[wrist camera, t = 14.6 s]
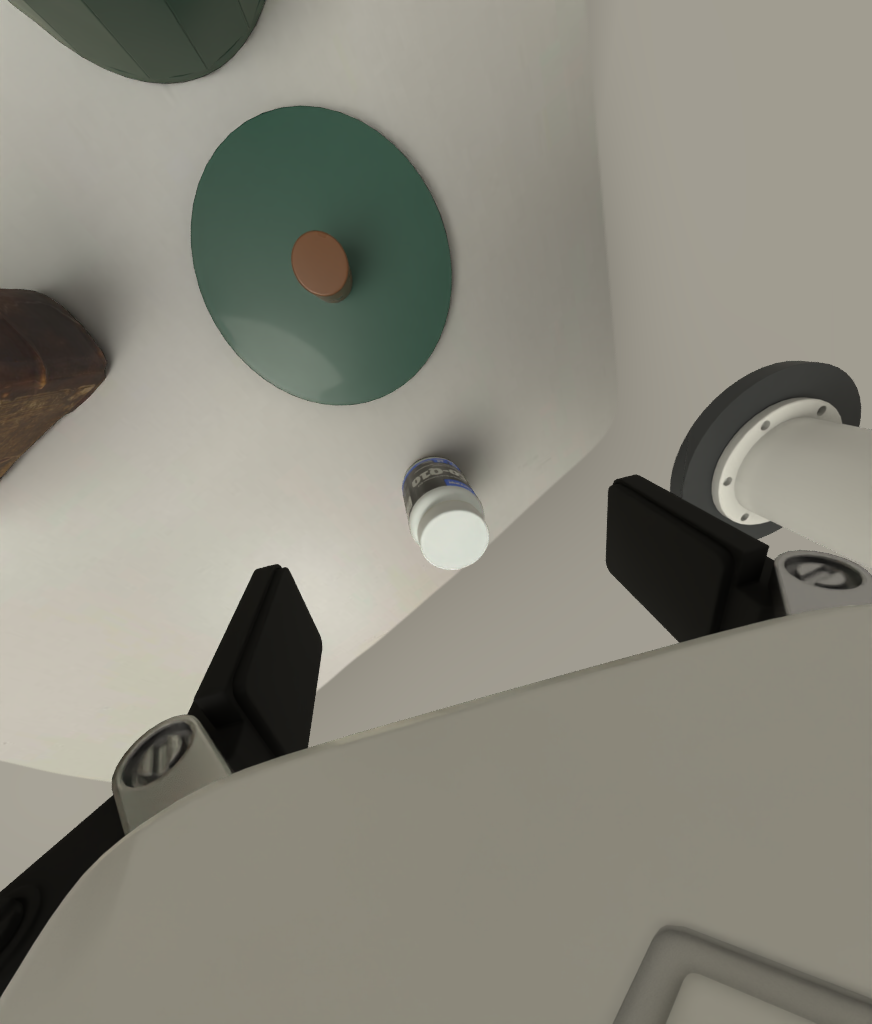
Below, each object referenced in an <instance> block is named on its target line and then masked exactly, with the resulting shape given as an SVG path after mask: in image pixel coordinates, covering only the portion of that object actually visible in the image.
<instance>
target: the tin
mask: <svg viewBox="0 0 872 1024" xmlns="http://www.w3.org/2000/svg"><path fill="white" fill-rule="evenodd" d="M8 1H9V2H10V3H11V4H12V5H14V6H15V7H16V8H17V9H19V10H20V11H21V12H23V13H24V14H25V15H27V16H28V17H29V18H31V19H32V20H33V21H35V22H36V23H37V24H39V25H40V26H41V27H42V28H43V29H45V30H46V31H47V32H48V33H49V34H51V35H52V36H53V37H54V38H55V39H57V40H58V41H59V42H61V43H62V44H64V45H65V46H67V47H68V48H70V49H71V50H73V51H74V52H76V53H77V54H78V55H80V56H81V57H83V58H85V59H87V60H89V61H91V62H93V63H95V64H96V65H98V66H100V67H102V68H104V69H107V70H109V71H112V72H114V73H117V74H119V75H122V76H125V77H128V78H132V79H137V80H141V81H145V82H155V83H176V82H186V81H189V80H193V79H196V78H199V77H203V76H204V75H206V74H208V73H210V72H212V71H214V70H216V69H218V68H219V67H220V66H222V65H223V64H224V63H225V62H227V61H228V60H229V59H230V58H232V57H233V56H234V54H235V53H236V52H237V51H238V50H239V49H240V47H241V46H242V45H243V44H244V43H245V41H246V40H247V38H248V36H249V35H250V33H251V31H252V30H253V28H254V26H255V25H256V22H257V20H258V17H259V15H260V13H261V10H262V8H263V5H264V2H265V0H8Z"/></svg>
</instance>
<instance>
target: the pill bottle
mask: <svg viewBox="0 0 872 1024" xmlns="http://www.w3.org/2000/svg"><path fill="white" fill-rule="evenodd" d="M402 491H403V497H404V502H405V507H406V513H407V518H408V523H409V528H410V531H411V534H412V536H413V538H414V540H415V541H416V542H417V544H418V545H419V546H420V548H421V551H422V554H423V555H424V557H425V558H426V560H427V561H428V562H429V563H431V564H432V565H434V566H436V567H438V568H441V569H446V570H456V569H461V568H464V567H467V566H469V565H471V564H473V563H474V562H476V561H477V560H478V559H479V558H480V557H481V556H482V555H483V553H484V552H485V550H486V548H487V545H488V542H489V530H488V527H487V524H486V522H485V521H484V510H483V507H482V504H481V502H480V500H479V499H478V497H477V496H476V494H475V493H474V491H473V490H472V488H471V487H470V485H469V484H468V482H467V480H466V479H465V477H464V476H463V474H462V472H461V471H460V469H459V468H458V467H457V466H456V465H455V464H454V463H452V462H451V461H449V460H447V459H444V458H440V457H430V458H425V459H422V460H420V461H418V462H416V463H415V464H414V465H412V467H411V468H410V469H409V470H408V471H407V473H406V475H405V477H404V480H403V485H402Z"/></svg>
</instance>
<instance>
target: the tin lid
mask: <svg viewBox="0 0 872 1024" xmlns="http://www.w3.org/2000/svg"><path fill="white" fill-rule="evenodd" d="M191 249H192V256H193V264H194V269H195V273H196V277H197V281H198V285H199V288H200V291H201V294H202V296H203V299H204V302H205V304H206V307H207V309H208V311H209V313H210V315H211V317H212V319H213V321H214V323H215V324H216V326H217V328H218V329H219V331H220V332H221V334H222V335H223V337H224V338H225V340H226V341H227V342H228V344H229V345H230V346H231V347H232V349H233V350H234V351H235V352H236V354H237V355H238V356H239V357H240V358H241V359H242V360H243V361H244V362H245V363H246V364H247V365H248V366H249V367H250V368H251V369H252V370H254V371H255V372H256V373H257V374H259V375H260V376H261V377H262V378H263V379H265V380H266V381H268V382H269V383H271V384H273V385H274V386H276V387H277V388H279V389H281V390H283V391H285V392H287V393H289V394H291V395H293V396H296V397H299V398H302V399H305V400H307V401H312V402H316V403H321V404H328V405H354V404H360V403H366V402H369V401H372V400H375V399H378V398H381V397H383V396H385V395H387V394H389V393H391V392H393V391H395V390H396V389H398V388H399V387H401V386H402V385H404V384H405V383H406V382H407V381H408V380H410V379H411V378H412V377H413V376H414V375H415V374H416V373H417V372H418V371H419V370H420V369H421V367H422V366H423V365H424V364H425V362H426V361H427V360H428V358H429V357H430V355H431V354H432V352H433V350H434V348H435V346H436V344H437V343H438V341H439V339H440V336H441V333H442V331H443V328H444V325H445V322H446V318H447V314H448V310H449V305H450V297H451V287H452V269H451V259H450V250H449V245H448V241H447V236H446V232H445V228H444V225H443V222H442V219H441V216H440V213H439V211H438V209H437V206H436V204H435V202H434V200H433V197H432V195H431V193H430V192H429V190H428V188H427V187H426V185H425V183H424V181H423V180H422V178H421V176H420V175H419V174H418V172H417V171H416V170H415V168H414V167H413V166H412V164H411V163H410V162H409V160H408V159H407V158H406V157H405V156H404V155H403V154H402V153H401V152H400V151H399V150H398V149H397V148H396V147H395V146H394V145H393V144H392V143H391V142H390V141H389V140H387V139H386V138H385V137H384V136H382V135H381V134H380V133H379V132H377V131H376V130H374V129H373V128H371V127H369V126H368V125H366V124H364V123H363V122H361V121H359V120H357V119H355V118H353V117H350V116H348V115H346V114H343V113H341V112H337V111H333V110H329V109H325V108H321V107H310V106H293V107H283V108H278V109H275V110H272V111H268V112H265V113H262V114H260V115H258V116H256V117H254V118H252V119H250V120H248V121H246V122H245V123H243V124H242V125H241V126H240V127H238V128H237V129H236V130H234V131H233V132H232V133H230V134H229V136H228V137H227V138H226V139H225V140H224V141H223V142H222V143H221V144H220V146H219V147H218V148H217V149H216V151H215V152H214V154H213V156H212V157H211V159H210V160H209V162H208V164H207V165H206V167H205V170H204V172H203V174H202V177H201V179H200V181H199V184H198V188H197V191H196V195H195V199H194V203H193V210H192V219H191Z"/></svg>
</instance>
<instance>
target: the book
mask: <svg viewBox="0 0 872 1024" xmlns="http://www.w3.org/2000/svg"><path fill="white" fill-rule="evenodd" d="M106 365H107V362H106V359H105V357H104V354H103V352H102V351H101V350H100V348H99V347H98V345H97V344H96V343H95V341H94V340H93V339H92V338H91V336H90V335H89V334H88V332H87V331H86V330H85V329H84V327H83V326H82V325H81V324H80V323H79V322H78V321H77V320H76V319H75V318H74V317H73V316H72V315H71V314H70V313H69V312H68V311H67V310H66V309H65V308H64V307H63V306H61V305H60V304H58V303H57V302H56V301H54V300H52V299H51V298H49V297H47V296H46V295H43V294H41V293H38V292H36V291H31V290H24V289H0V479H1V477H2V476H3V475H4V474H5V473H6V472H7V470H8V469H9V468H10V467H11V466H12V465H13V464H14V463H15V461H16V460H17V459H18V458H19V457H20V456H21V455H22V454H23V453H24V452H25V451H26V450H27V449H28V448H29V447H30V446H31V445H33V444H34V443H35V442H36V441H37V440H38V439H39V438H40V437H41V436H42V435H43V434H44V433H45V432H46V431H47V430H48V429H49V428H50V427H51V426H53V425H54V424H55V423H56V422H57V421H58V420H59V419H60V418H61V417H63V416H64V415H66V414H68V413H70V412H72V411H74V410H75V409H76V408H77V407H78V406H79V405H80V404H82V403H83V402H84V401H85V400H86V399H87V398H88V397H89V396H90V395H91V394H92V393H93V392H94V391H95V389H96V388H97V387H98V386H99V385H100V384H101V383H102V381H103V380H104V379H105V373H104V369H105V367H106Z"/></svg>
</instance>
